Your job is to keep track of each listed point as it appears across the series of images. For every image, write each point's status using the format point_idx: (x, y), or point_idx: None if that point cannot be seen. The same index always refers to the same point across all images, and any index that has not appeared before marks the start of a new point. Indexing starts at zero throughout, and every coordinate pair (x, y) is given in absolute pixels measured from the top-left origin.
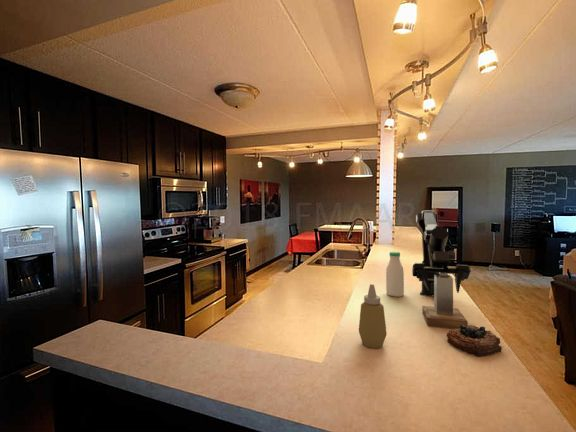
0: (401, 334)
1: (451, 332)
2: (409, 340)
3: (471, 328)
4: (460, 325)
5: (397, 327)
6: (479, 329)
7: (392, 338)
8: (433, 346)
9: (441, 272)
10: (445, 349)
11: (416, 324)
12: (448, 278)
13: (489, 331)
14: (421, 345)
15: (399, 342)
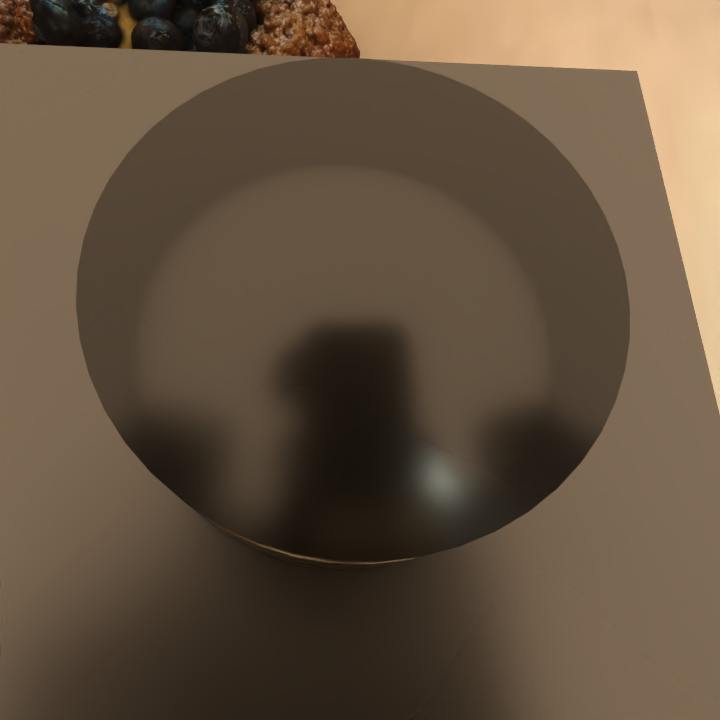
0: (664, 140)
1: (331, 15)
2: (601, 68)
3: (153, 20)
4: (241, 29)
5: (715, 254)
6: (81, 32)
7: (709, 71)
8: (451, 24)
9: (475, 378)
10: (381, 4)
11: None
12: (188, 70)
13: (6, 11)
14: (524, 22)
15: (657, 31)
